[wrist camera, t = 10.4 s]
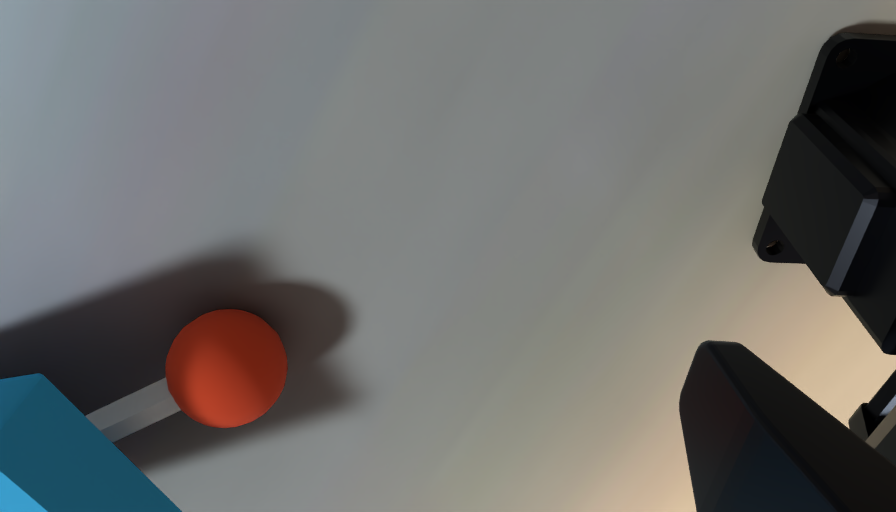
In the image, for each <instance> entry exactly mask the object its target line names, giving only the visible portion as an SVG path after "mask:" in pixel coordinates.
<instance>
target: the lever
mask: <svg viewBox="0 0 896 512" xmlns="http://www.w3.org/2000/svg"><path fill="white" fill-rule="evenodd" d="M165 370H166V377H165V378H163V379H161V380H159V381H157V382H155V383H153V384H151V385H149V386H146V387H144V388H142V389H140V390H138V391H136V392H134V393H132V394H130V395H128V396H125V397H123V398H121V399H119V400H117V401H115V402H113V403H111V404H109V405H107V406H104V407H102V408H100V409H98V410H96V411H94V412H92V413H90V414H88V415H86V416H84V415H83V414H82V413H81V412H80V411H79V410H78V409H77V408H76V407H75V406H74V405H73V404H72V403H71V402H70V401H69V400H68V399H67V398H66V397H65V396H64V395H63V394H62V393H61V392H60V391H59V390H58V389H57V388H56V387H55V386H54V385H53V384H52V383H51V382H50V381H49V380H48V379H47V378H46V377H45V376H44V375H42V374H40V373H36V374H30V375H24V376H18V377H12V378H6V379H0V512H182V511H181V510H180V509H179V508H178V507H177V506H176V505H175V504H174V503H173V502H172V501H171V500H170V499H169V498H168V497H167V496H166V495H165V494H164V493H163V492H162V491H160V490H159V489H158V488H157V487H156V486H155V485H154V484H153V483H152V482H151V481H150V480H149V479H148V478H147V477H146V476H145V475H144V474H143V473H142V472H141V471H140V470H139V469H138V468H137V467H136V466H135V465H134V464H133V463H132V462H131V461H130V460H129V459H128V458H127V457H126V456H125V455H124V454H123V453H122V452H121V451H120V450H119V449H118V448H117V447H116V446H115V445H114V444H113V442H115V441H117V440H119V439H121V438H124V437H126V436H128V435H130V434H132V433H134V432H136V431H138V430H140V429H143V428H145V427H147V426H149V425H151V424H153V423H155V422H157V421H159V420H162V419H164V418H166V417H168V416H170V415H172V414H174V413H176V412H178V411H183V412H184V413H185V414H186V415H188V416H189V417H190V418H192V419H193V420H195V421H197V422H199V423H202V424H204V425H206V426H211V427H217V428H230V427H237V426H240V425H243V424H246V423H249V422H252V421H254V420H255V419H257V418H258V417H260V416H261V415H263V414H265V413H266V412H267V411H268V410H269V409H270V407H271V406H272V405H273V404H274V403H275V402H276V400H277V399H278V397H279V396H280V394H281V392H282V390H283V388H284V385H285V380H286V375H287V370H288V366H287V356H286V352H285V349H284V346H283V344H282V342H281V340H280V338H279V336H278V333H277V332H276V331H275V330H274V329H272V328H271V327H270V326H269V325H268V324H267V323H266V322H265V321H264V320H263V319H262V318H260V317H258V316H256V315H254V314H252V313H249V312H246V311H243V310H237V309H222V310H215V311H212V312H209V313H206V314H203V315H201V316H200V317H198V318H197V319H195V320H194V321H192V322H191V323H189V324H188V325H186V326H185V327H184V328H183V329H182V330H181V331H180V332H179V334H178V335H177V336H176V338H175V339H174V341H173V343H172V345H171V347H170V350H169V352H168V355H167V358H166V366H165Z"/></svg>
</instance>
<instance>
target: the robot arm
mask: <svg viewBox="0 0 896 512" xmlns="http://www.w3.org/2000/svg"><path fill="white" fill-rule="evenodd" d="M849 48H850V51H849V55H848V56H847V58H846V59H844V60H843V61H842V62H838V63H836V58H837V56H838V55H839V53H840V52H842V51H843V50H845V49H849ZM762 204H763V206H764V209H763V212H762V215H761V218H760V220H759V223H758V226H757V229H756V232H755V235H754V237H753V242H752V246H753V248H754V250H755V252H756V253H757V255H758V256H759V258H760V259H762V260H763V261H766V262H774V263H801V264H806V265H807V266H808V267H809V269H810V270H811V271H812V273H813V274H814V276H815V277H816V278H817V280H818V281H819V282H820V284H821V285H822V286H823V288H824V289H825V291H826V292H827V293H828V294H829V295H830V296H839V297H842V298H843V299H844V301H845V302H846V303H847V305H848V306H849V307H850V309H851V310H852V311H853V313H854V314H855V315H856V317H857V318H858V319H859V321H860V322H861V323H862V325H863V326H864V327H865V329H866V330H867V331H868V333H869V334H870V335H871V337H872V338H873V339H874V341H875V342H876V343H877V345H878V346H879V347H880V349H881V350H882V351H883V353H885V354H889V355H896V36H892V35H876V34H860V33H840V34H837V35H835V36H833V37H831V38H830V39H829V40H828V41H826V42H825V43H824V45H823V46H822V48H821V50H820V52H819V55H818V57H817V60H816V63H815V66H814V69H813V71H812V74H811V77H810V80H809V83H808V85H807V88H806V91H805V94H804V97H803V100H802V102H801V105H800V108H799V111H798V114H797V115H796V116H795V117H794V118H793V119H792V120H791V121H790V122H789V125H788V128H787V131H786V133H785V136H784V139H783V142H782V145H781V148H780V150H779V153H778V156H777V159H776V162H775V165H774V167H773V170H772V173H771V176H770V179H769V182H768V185H767V187H766V190H765V193H764V196H763V199H762ZM776 240H778V242H777V243H776V244H775V245H774V246H772V247H767V246H768V244H769V243H771V242H772V241H776ZM679 412H680V419H681V424H682V430H683V436H684V441H685V447H686V453H687V459H688V464H689V470H690V476H691V482H692V487H693V493H694V499H695V504H696V510H697V512H896V370H895V371H894V372H893V373H892V375H891V376H890V377H889V378H888V380H887V381H886V382H885V383H884V384H883V386H882V387H881V388H880V389H879V391H878V392H877V393H876V394H875V396H874V397H873V398H872V399H871V401H870V402H869V403H862V404H861V405H860V406H859V408H858V409H857V410H856V411H855V413H854V414H853V415H852V416H851V418H850V419H849V427H850V429H849V428H847V427H846V426H845V425H844V424H842V423H841V422H840V421H838V420H837V419H836V418H835V417H833V416H832V415H831V414H830V413H828V412H827V411H826V410H825V409H823V408H822V407H821V406H819V405H818V404H817V403H816V402H814V401H813V400H812V399H811V398H809V397H808V396H807V395H805V394H804V393H803V392H802V391H800V390H799V389H798V388H797V387H795V386H794V385H793V384H792V383H790V382H789V381H788V380H786V379H785V378H784V377H783V376H781V375H780V374H779V373H778V372H776V371H775V370H774V369H773V368H771V367H770V366H769V365H767V364H766V363H765V362H764V361H762V360H761V359H760V358H759V357H757V356H756V355H755V354H754V353H752V352H751V351H750V350H748V349H747V348H746V347H745V346H743V345H742V344H740V343H737V342H726V341H710V340H709V341H705V342H703V343H701V344H700V346H699V347H698V349H697V351H696V353H695V356H694V358H693V361H692V364H691V367H690V369H689V372H688V375H687V377H686V380H685V383H684V385H683V388H682V391H681V395H680V401H679Z"/></svg>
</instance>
